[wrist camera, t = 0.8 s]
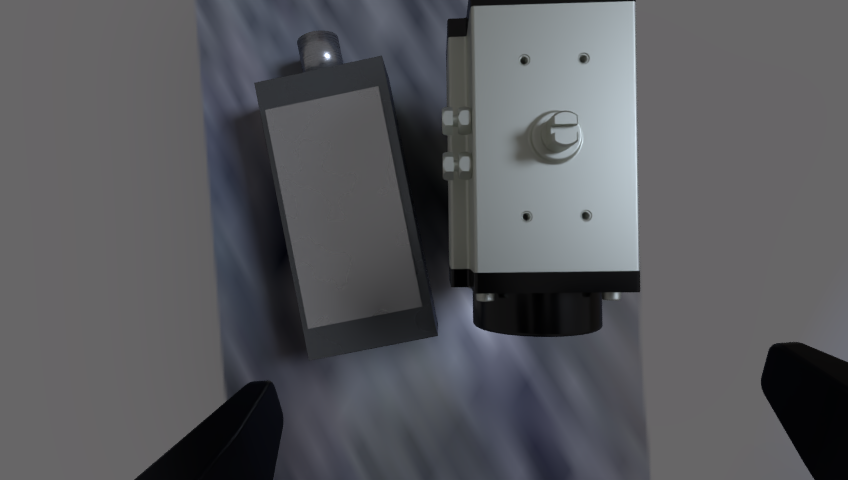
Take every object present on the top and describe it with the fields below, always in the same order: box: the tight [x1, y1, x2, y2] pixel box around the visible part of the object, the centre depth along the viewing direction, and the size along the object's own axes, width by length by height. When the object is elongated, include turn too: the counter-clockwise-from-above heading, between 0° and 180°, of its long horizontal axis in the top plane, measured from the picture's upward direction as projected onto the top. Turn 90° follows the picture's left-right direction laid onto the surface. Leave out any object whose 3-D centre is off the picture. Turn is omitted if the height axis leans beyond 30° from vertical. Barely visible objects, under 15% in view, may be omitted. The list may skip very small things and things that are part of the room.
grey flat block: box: [254, 31, 438, 361], centre depth 23 cm, size 15×6×4 cm, turn 11°
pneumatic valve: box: [442, 0, 640, 337], centre depth 18 cm, size 6×12×12 cm, turn 1°
